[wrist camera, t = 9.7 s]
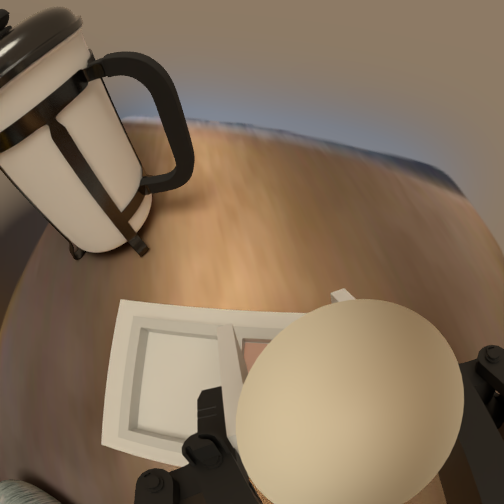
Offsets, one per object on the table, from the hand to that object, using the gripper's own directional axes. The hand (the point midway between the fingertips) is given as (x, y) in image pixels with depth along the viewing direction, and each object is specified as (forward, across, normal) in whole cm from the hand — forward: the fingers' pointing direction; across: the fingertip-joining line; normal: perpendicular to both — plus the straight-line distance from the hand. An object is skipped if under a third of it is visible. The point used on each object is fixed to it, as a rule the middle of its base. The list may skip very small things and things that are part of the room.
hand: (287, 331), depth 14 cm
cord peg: (0, 0, -5) cm, 5 cm away
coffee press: (+25, -13, +6) cm, 29 cm away
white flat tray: (+8, -5, -11) cm, 14 cm away
